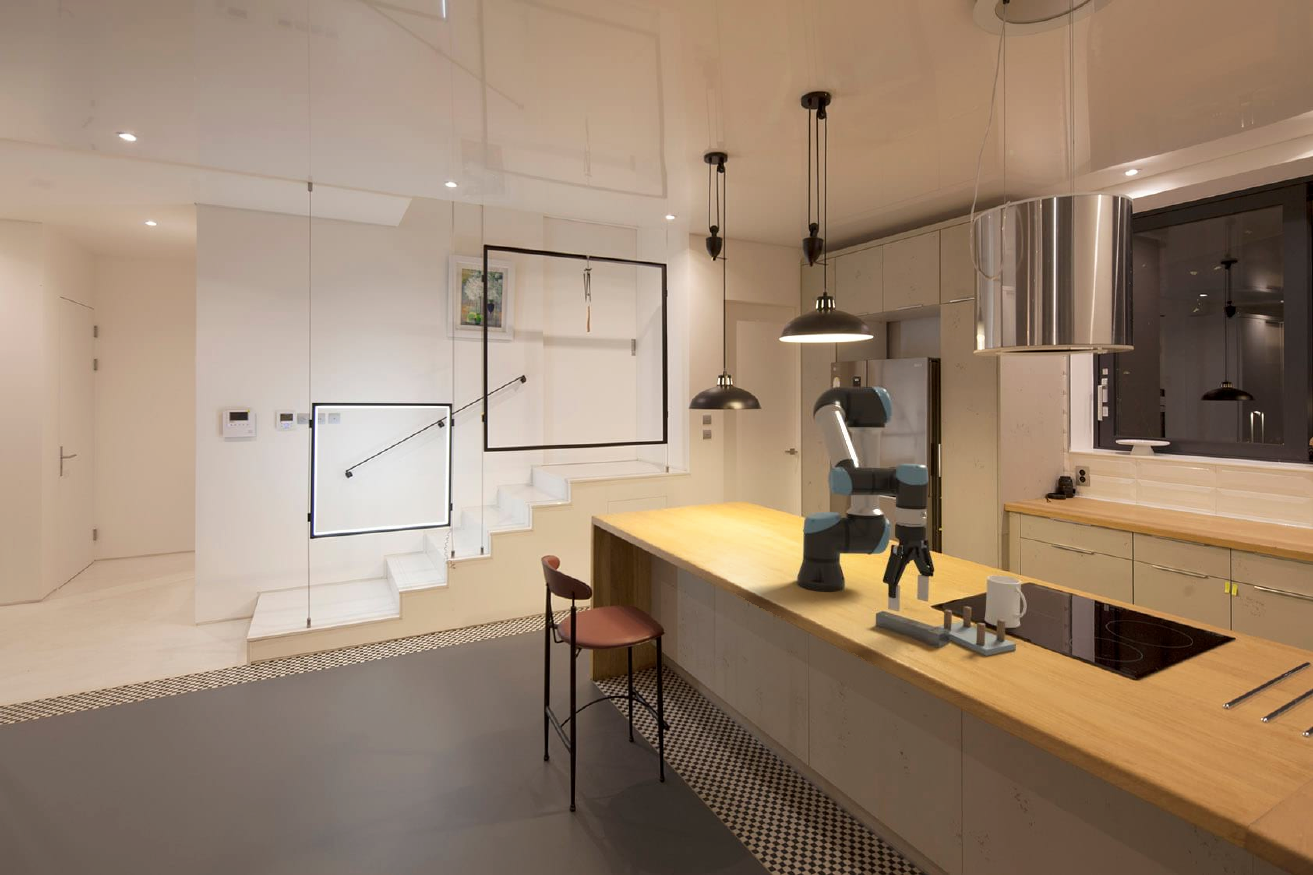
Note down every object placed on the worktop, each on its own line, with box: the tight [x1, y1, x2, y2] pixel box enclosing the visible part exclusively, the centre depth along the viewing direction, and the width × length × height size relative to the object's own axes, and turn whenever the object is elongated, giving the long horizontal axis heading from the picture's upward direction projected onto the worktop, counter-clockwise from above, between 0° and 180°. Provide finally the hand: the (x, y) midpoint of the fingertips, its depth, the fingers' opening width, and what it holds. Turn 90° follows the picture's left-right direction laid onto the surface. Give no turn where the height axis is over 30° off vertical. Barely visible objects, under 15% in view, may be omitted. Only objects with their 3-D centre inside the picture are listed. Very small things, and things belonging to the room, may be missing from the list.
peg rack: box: [934, 606, 1017, 657], centre depth 159 cm, size 16×10×6 cm, turn 22°
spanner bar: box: [875, 610, 950, 649], centre depth 163 cm, size 18×5×4 cm, turn 38°
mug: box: [984, 574, 1028, 629], centre depth 170 cm, size 12×8×12 cm
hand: (908, 605), depth 163 cm, fingers open, 13 cm apart
